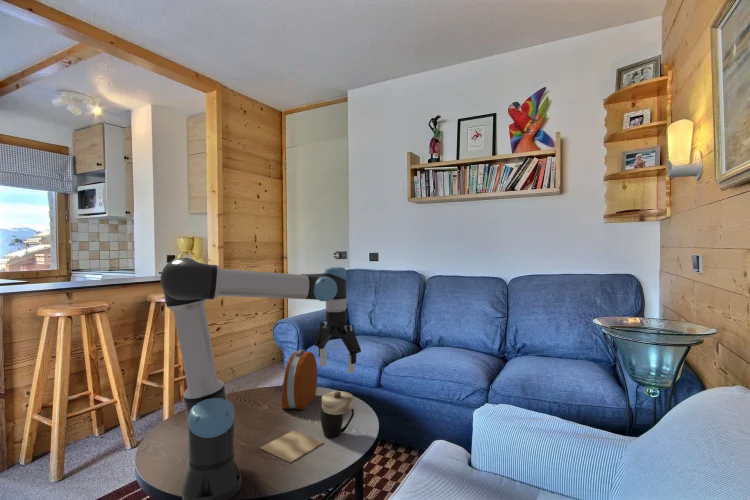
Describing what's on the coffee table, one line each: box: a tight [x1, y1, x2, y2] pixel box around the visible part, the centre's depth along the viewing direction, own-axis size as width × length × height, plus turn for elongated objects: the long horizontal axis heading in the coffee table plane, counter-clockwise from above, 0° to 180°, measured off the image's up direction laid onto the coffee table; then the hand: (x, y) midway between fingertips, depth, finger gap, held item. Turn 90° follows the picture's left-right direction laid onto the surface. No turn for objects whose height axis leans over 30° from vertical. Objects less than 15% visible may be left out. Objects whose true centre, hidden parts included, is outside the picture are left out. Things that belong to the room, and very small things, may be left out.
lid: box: [321, 390, 354, 415], centre depth 138 cm, size 11×11×6 cm
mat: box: [259, 429, 325, 464], centre depth 130 cm, size 15×15×1 cm
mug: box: [319, 406, 355, 439], centre depth 138 cm, size 8×12×10 cm
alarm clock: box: [281, 349, 318, 411], centre depth 167 cm, size 22×10×23 cm, turn 170°
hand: (337, 369), depth 138 cm, fingers open, 13 cm apart
